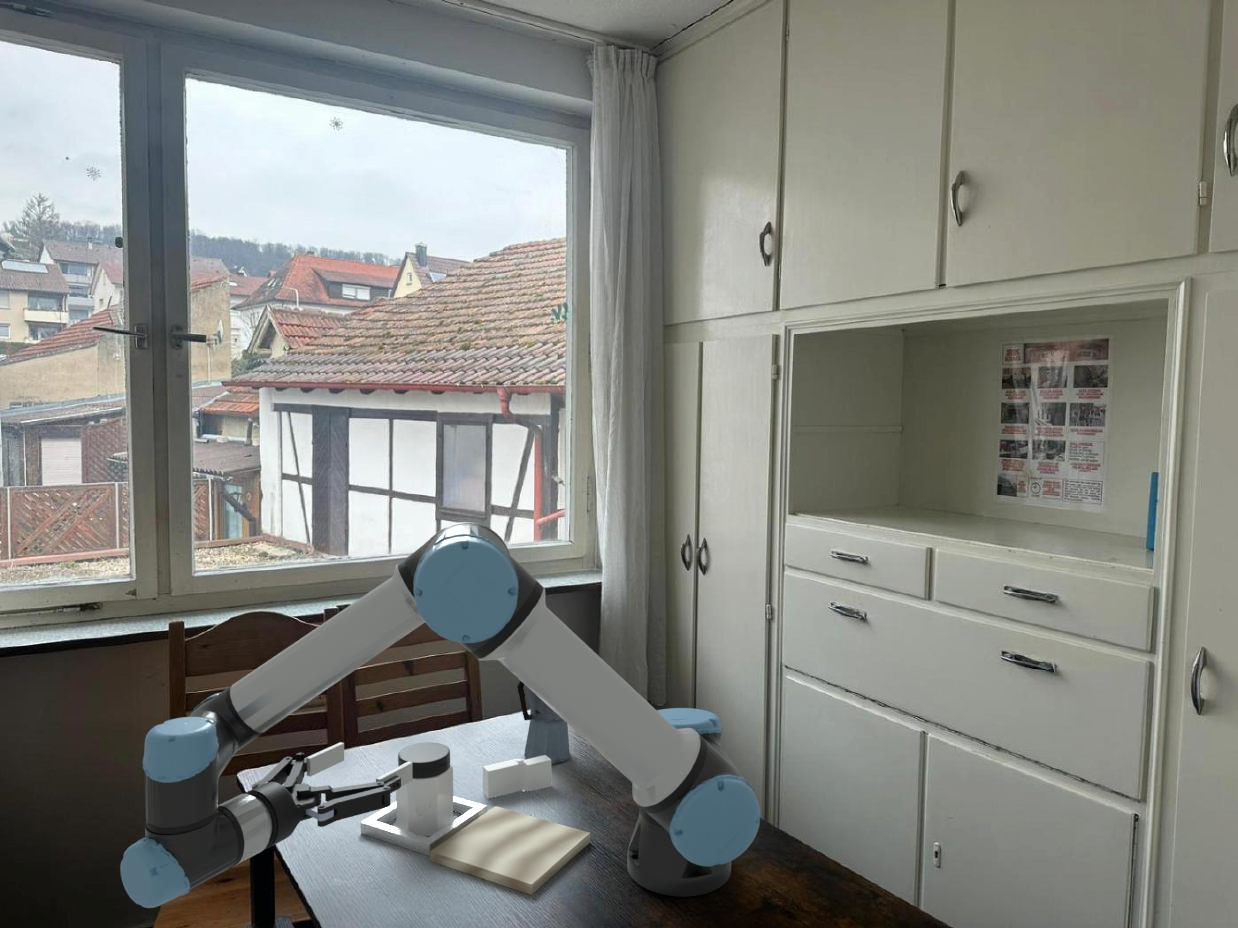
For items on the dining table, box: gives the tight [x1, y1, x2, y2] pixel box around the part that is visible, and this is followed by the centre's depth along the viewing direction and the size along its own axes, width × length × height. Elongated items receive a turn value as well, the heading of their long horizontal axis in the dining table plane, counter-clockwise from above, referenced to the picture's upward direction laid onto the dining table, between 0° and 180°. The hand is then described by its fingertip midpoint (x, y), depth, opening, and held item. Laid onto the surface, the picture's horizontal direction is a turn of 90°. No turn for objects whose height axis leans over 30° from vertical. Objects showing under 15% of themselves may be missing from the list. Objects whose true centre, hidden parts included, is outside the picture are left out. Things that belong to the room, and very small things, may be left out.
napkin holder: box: [482, 755, 552, 800], centre depth 149 cm, size 15×11×6 cm
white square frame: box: [360, 795, 488, 857], centre depth 137 cm, size 14×14×2 cm
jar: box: [395, 741, 455, 837], centre depth 136 cm, size 9×8×12 cm
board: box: [429, 805, 591, 896], centre depth 129 cm, size 18×16×2 cm
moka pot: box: [517, 680, 571, 765], centre depth 162 cm, size 10×15×20 cm, turn 148°
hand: (375, 760), depth 127 cm, fingers open, 13 cm apart
